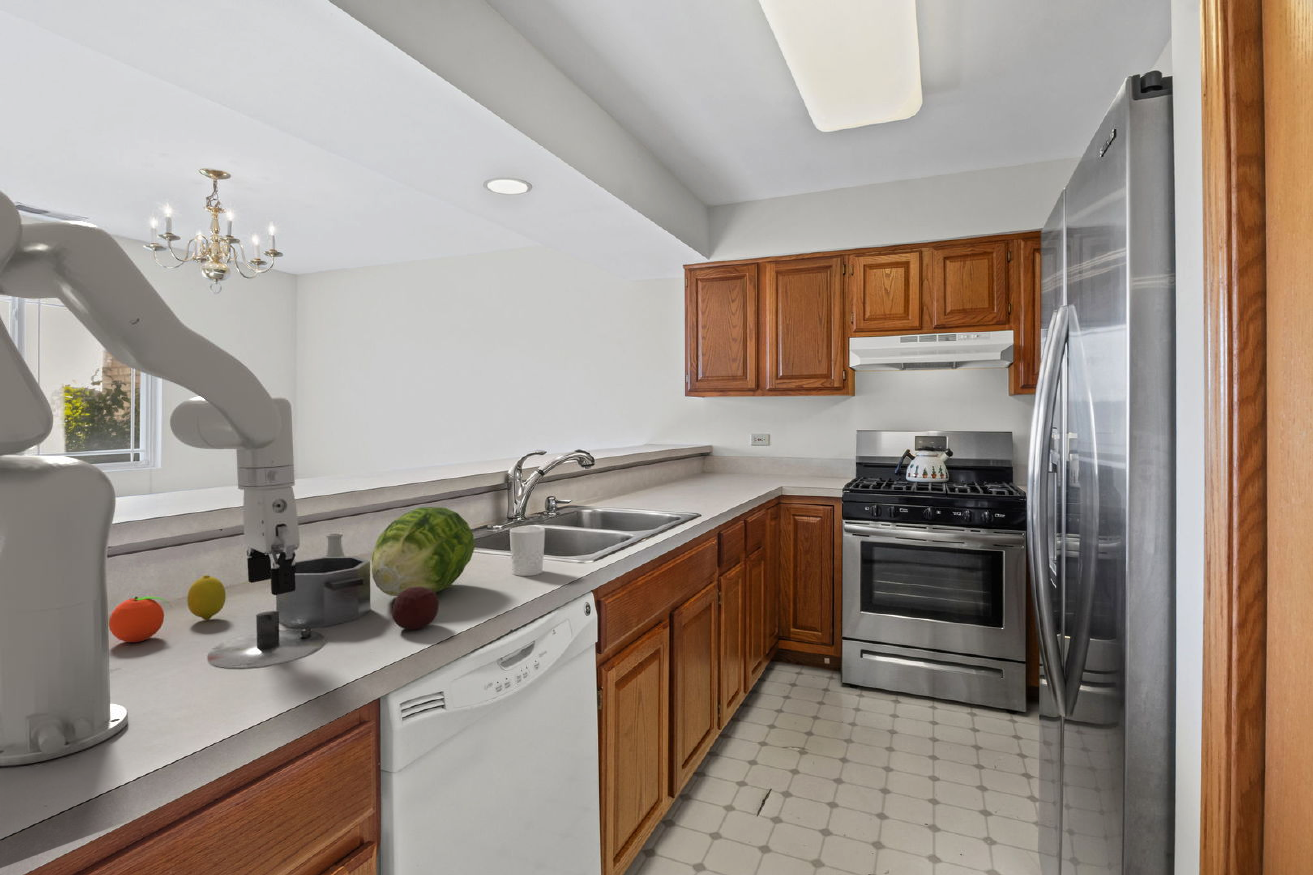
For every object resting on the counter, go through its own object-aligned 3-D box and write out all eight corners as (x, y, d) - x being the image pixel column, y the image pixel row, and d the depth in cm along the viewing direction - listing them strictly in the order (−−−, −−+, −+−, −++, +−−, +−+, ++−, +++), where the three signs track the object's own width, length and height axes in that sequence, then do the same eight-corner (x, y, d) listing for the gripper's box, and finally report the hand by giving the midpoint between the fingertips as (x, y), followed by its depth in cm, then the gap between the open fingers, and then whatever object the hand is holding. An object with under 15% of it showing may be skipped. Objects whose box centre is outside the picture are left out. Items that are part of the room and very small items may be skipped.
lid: (341, 649, 103) (341, 612, 103) (227, 679, 91) (226, 638, 91) (301, 627, 113) (300, 594, 113) (193, 652, 101) (192, 615, 101)
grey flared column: (317, 577, 146) (316, 532, 145) (353, 574, 149) (352, 530, 148) (315, 585, 139) (314, 538, 139) (353, 581, 142) (352, 535, 142)
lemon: (206, 626, 112) (205, 579, 112) (179, 623, 113) (178, 577, 113) (233, 616, 118) (232, 572, 117) (207, 614, 119) (206, 570, 119)
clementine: (170, 629, 111) (169, 587, 110) (175, 640, 106) (174, 596, 105) (108, 640, 105) (106, 596, 105) (110, 652, 100) (109, 605, 100)
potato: (447, 624, 114) (447, 583, 114) (417, 638, 107) (416, 595, 107) (413, 619, 117) (412, 580, 117) (381, 633, 110) (380, 591, 109)
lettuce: (339, 609, 123) (346, 524, 119) (406, 562, 146) (413, 489, 142) (426, 632, 121) (435, 546, 117) (480, 580, 144) (489, 507, 140)
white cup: (552, 571, 152) (551, 528, 152) (528, 578, 146) (528, 533, 145) (526, 567, 156) (526, 525, 156) (502, 573, 150) (502, 530, 149)
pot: (388, 616, 118) (387, 566, 118) (305, 636, 107) (304, 581, 107) (340, 596, 131) (340, 551, 130) (262, 612, 120) (261, 563, 120)
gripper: (315, 479, 98) (320, 592, 100) (272, 470, 110) (276, 571, 111) (259, 485, 93) (265, 604, 94) (220, 475, 104) (225, 581, 105)
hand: (271, 586), depth 103 cm, fingers open, 9 cm apart
